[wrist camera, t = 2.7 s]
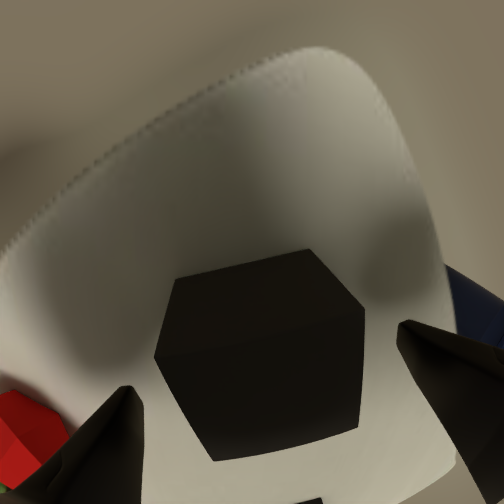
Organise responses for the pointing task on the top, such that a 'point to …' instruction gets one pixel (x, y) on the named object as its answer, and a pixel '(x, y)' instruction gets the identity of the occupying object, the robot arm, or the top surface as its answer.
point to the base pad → (313, 501)
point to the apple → (26, 437)
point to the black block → (264, 355)
